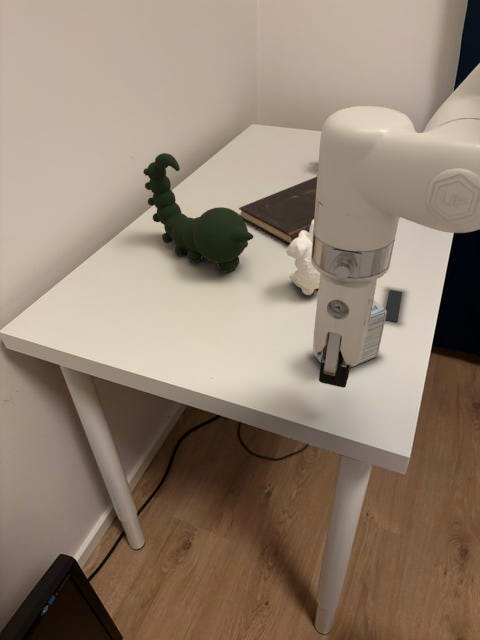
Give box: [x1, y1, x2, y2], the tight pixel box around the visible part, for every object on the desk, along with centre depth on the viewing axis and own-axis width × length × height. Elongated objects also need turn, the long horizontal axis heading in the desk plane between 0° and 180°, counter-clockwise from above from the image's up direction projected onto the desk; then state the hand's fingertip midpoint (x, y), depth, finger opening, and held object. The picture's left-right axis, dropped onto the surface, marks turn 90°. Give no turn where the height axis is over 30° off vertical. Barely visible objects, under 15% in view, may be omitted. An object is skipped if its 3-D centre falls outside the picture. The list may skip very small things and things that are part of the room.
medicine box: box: [314, 299, 387, 368], centre depth 66 cm, size 8×4×9 cm, turn 116°
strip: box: [385, 289, 403, 323], centre depth 77 cm, size 2×8×1 cm, turn 160°
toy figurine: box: [142, 152, 255, 273], centre depth 85 cm, size 9×19×25 cm
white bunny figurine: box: [285, 219, 321, 296], centre depth 78 cm, size 8×7×12 cm
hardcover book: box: [238, 176, 317, 246], centre depth 102 cm, size 16×23×2 cm
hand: (333, 380), depth 58 cm, fingers closed
